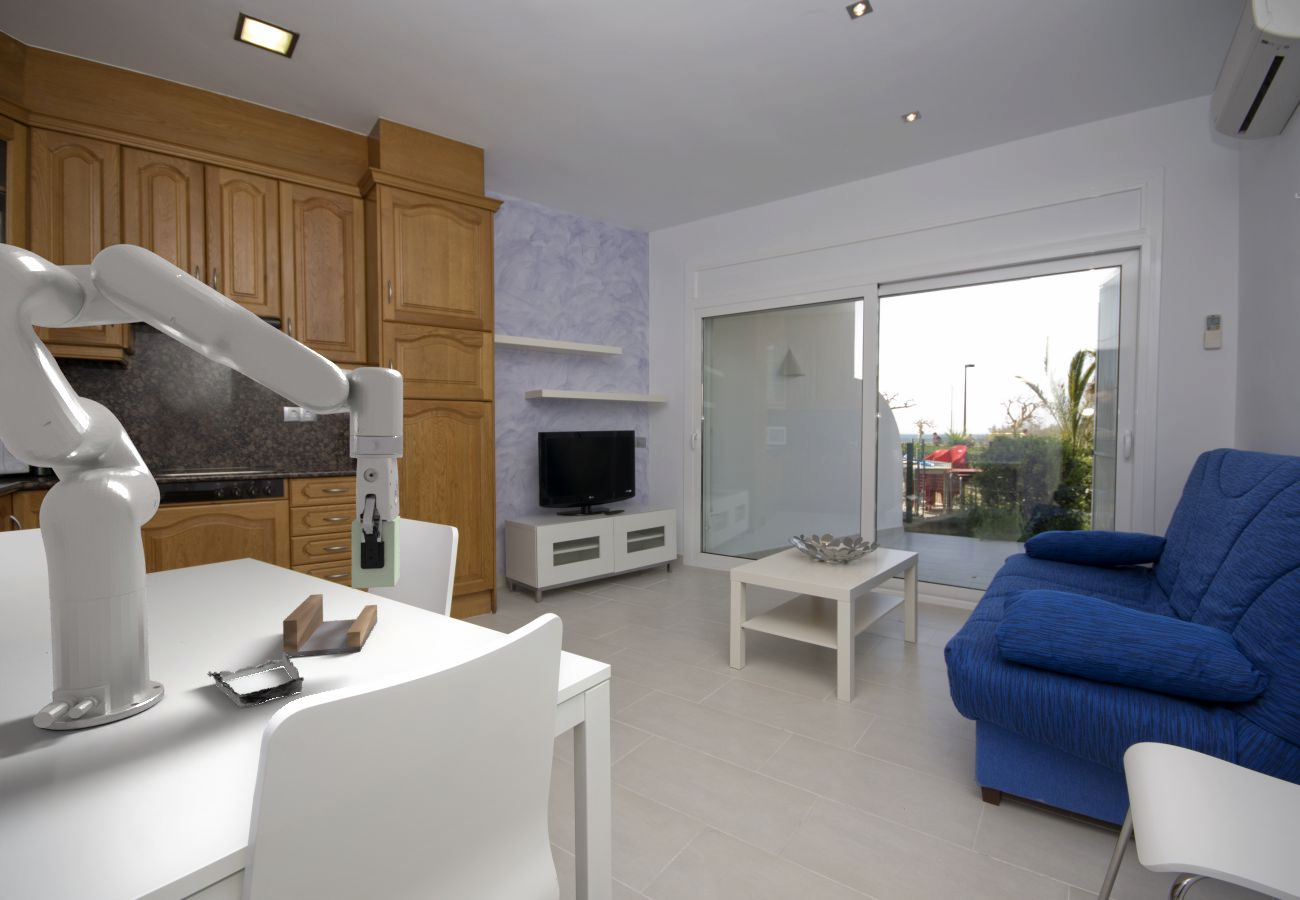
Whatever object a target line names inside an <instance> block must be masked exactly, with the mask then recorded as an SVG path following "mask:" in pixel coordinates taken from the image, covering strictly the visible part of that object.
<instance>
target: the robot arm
mask: <svg viewBox="0 0 1300 900" xmlns="http://www.w3.org/2000/svg"><path fill="white" fill-rule="evenodd" d="M140 322H144V323H146V324H147V325H149V326H151V327H153V328H154V329H156V330H158V331H160V332H161V333H163V334H165V335H167V336H168V337H171V338H172V339H174V340H176V341H178V342H179V343H180V344H182V345H185V346H187V347H188V348H190V349H192V350H194V352H197V353H199V354H200V355H202V356H204V357H206V358H207V359H210V360H211V361H213V362H215V363H217V364H220V365H223V366H225V367H229V368H231V369H232V370H235V371H237V372H239V373H241V374H242V375H243V376H246V377H248V378H249V379H251V380H253V381H255V382H256V383H258V384H260V385H262V386H263V387H265V388H267V389H269V390H271V391H272V392H274V393H276V394H278V395H279V396H281V397H283V398H285V399H287V400H288V401H290V402H291V403H293V404H295V405H297V406H298V407H300V408H302V409H303V410H306V411H307V412H309V413H311V414H316V415H331V414H339V413H340V414H341V413H349V458H351V459H354V458H355V459H357V460H356V461H357V462H356V471H355V472H356V480H355V481H356V482H355V483H356V484H355V510H356V512H355V513H356V514H355V515H356V519H357V520H358V521H359V522H360V523H362V535H361V568H362V569H379V568H383V567H384V541H382V535H383V520H387V523H390V522H392V521H393V520H394V519H395V518H396V517H397V516H400V497H399V496H400V492H399V490H400V489H399V470H398V469H399V468H398V460H397V459H398V458H403V456H404V454H403V453H404V430H403V429H404V380H403V379H404V378H403V375H402V374H401V372H400V371H399V370H396V369H395V368H389V367H379V366H378V367H377V366H375V367H374V366H365V367H364V366H363V367H357V368H355V369H347V368H346V369H345V368H341V367H339V365H337V364H335V363H334V362H332V361H331V360H330V359H327V358H326V357H324V356H323V355H321V354H319V353H318V352H316V351H315V350H313V349H311V348H310V347H308V346H307V345H305V344H304V343H301V342H300V341H298V340H296V339H295V338H293V337H292V336H290V335H288V334H287V333H285V332H283V331H282V330H280V329H278V328H276V327H274V326H273V325H271V324H270V323H268V322H266V321H265V320H263V319H261V317H259V316H258V315H256V314H255V313H253V312H252V311H250V310H248V309H246V308H245V307H243V306H242V305H240V304H239V303H237V302H235V301H234V300H232V299H230V298H229V297H227V296H225V295H224V294H223V293H220V292H218V291H217V290H216V289H214V288H212V287H211V286H209V285H207V284H205V283H204V282H203V281H201V280H199V279H198V278H196V277H194V276H193V275H191V274H190V273H188V272H186V271H185V270H183V269H181V268H180V267H178V266H176V265H175V264H173V263H171V262H169V260H167V259H165V258H164V257H162V256H160V255H158V254H156V253H154V252H152V251H151V250H149V249H146V248H145V247H143V246H142V247H141V246H138V245H134V244H128V243H127V244H126V243H123V244H122V243H120V244H119V243H118V244H114V245H109V246H108V247H105V248H103V249H102V250H100V252H99V253H97V254H96V256H95V257H94V258H93V260H92V262H91V264H73V265H72V264H70V265H67V264H66V265H56V264H55V263H53V262H51V261H49V260H47V259H45V258H43V257H42V256H40V255H38V254H36V253H35V252H33V251H29V250H27V249H25V248H22V247H18V246H15V245H13V244H12V245H10V244H6V243H1V242H0V440H1V442H2V443H3V445H4V446H5V448H6V449H7V451H8V452H9V453H10V454H11V455H12V456H13V457H14V458H15V459H17V460H18V461H21V462H22V463H25V464H26V465H30V466H32V467H33V466H34V467H39V468H52V470H53V472H54V473H55V475H56V476H57V478H58V479H59V481H58V482H57V483H55V484H54V485H53V486H52V487H51V488H50V489H49V490H48V491H47V493H46V494H45V496H44V497H43V499H42V502H41V505H40V508H39V509H40V510H39V527H40V529H39V530H40V534H41V538H42V542H43V547H44V551H45V556H46V564H47V575H48V595H49V596H48V597H49V607H50V608H49V609H50V613H49V614H50V635H51V639H50V640H51V659H52V660H51V661H52V683H53V684H52V686H53V691H52V693H51V694H52V701H51V702H50V703H47V704H45V706H43V707H42V708H41V709H40V710H39V711H38V712H37V714H35V715H34V718H33V720H32V721H33V724H34V726H36V727H37V728H40V729H41V728H43V729H47V730H54V731H55V730H59V731H60V730H61V731H62V730H63V731H64V730H76V729H85V728H90V727H95V726H100V725H104V724H108V723H111V722H116V721H119V720H122V719H124V718H125V719H126V718H128V717H131V716H134V715H136V714H138V713H141V712H143V711H145V710H148V709H149V708H151V707H153V706H155V705H157V704H158V702H159V701H161V700H162V699H163V698H164V696H165V686H164V684H162V683H161V682H159V681H157V680H156V681H155V680H150V653H149V652H150V650H149V649H150V648H149V623H148V621H149V618H148V615H149V614H148V586H147V571H146V558H145V557H146V556H145V551H144V545H143V539H142V531H141V527H142V526H144V525H145V524H146V523H148V522H149V521H150V520H152V518H153V516H155V514H157V511H158V509H159V506H160V502H161V501H160V500H161V495H160V493H161V492H160V489H159V486H158V484H157V482H156V480H155V478H154V476H153V475H152V473H151V471H150V469H149V468H148V466H147V464H146V462H145V461H144V459H143V458H142V456H141V454H140V453H139V451H138V449H137V447H136V446H135V444H134V443H133V441H132V440H131V438H130V436H129V435H128V432H127V430H126V429H125V428H124V426H123V425H122V423H121V422H120V421H119V419H118V418H117V417H116V416H115V414H114V413H113V412H112V411H111V410H110V409H108V407H107V406H104V404H102V403H99V402H98V401H95V400H92V399H91V398H86V397H83V396H79V395H78V393H77V392H76V391H75V390H74V388H73V387H72V385H71V384H70V383H69V381H68V380H67V378H66V376H65V375H64V373H63V372H62V370H61V369H60V366H59V365H58V362H57V361H56V359H55V357H54V356H53V354H52V353H51V351H50V350H49V349H48V348H47V346H46V345H45V344H44V342H43V341H42V340H41V339H40V337H39V336H38V335H37V334H36V332H35V329H34V327H33V326H37V327H42V328H43V327H44V328H52V329H53V328H56V329H61V328H64V329H65V328H77V327H78V328H79V327H90V326H91V327H92V326H104V325H118V324H120V325H121V324H129V323H130V324H131V323H140ZM374 519H380V521H374ZM362 520H363V522H361V521H362ZM376 526H378V528H377V527H376ZM377 531H378V532H377Z"/></svg>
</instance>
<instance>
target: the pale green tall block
mask: <svg viewBox="0 0 1300 900" xmlns="http://www.w3.org/2000/svg"><path fill="white" fill-rule="evenodd" d="M374 521H380V519H374ZM361 522H363V520H362V521H361ZM376 527H377V528H378V526H376ZM377 532H378V531H377ZM361 535H362V523H360V522H359V521H358V520H357V518H355V519H354V520H353V521H351V534H350V540H351V589H370V588H390V587H391V588H392V587H396V585H397V583H398V581H399V579H400V578H401V515H398V516H397V517H396V518H395V519H394V520H393V521H392V522H390V523H387V520H383V535H382V541H384V567H383V568H379V569H362V568H361Z"/></svg>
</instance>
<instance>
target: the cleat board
mask: <svg viewBox="0 0 1300 900" xmlns="http://www.w3.org/2000/svg"><path fill="white" fill-rule="evenodd" d="M323 596H324V595H323V593H320V594H319V593H318V594H310V595H309V596H308V597H307V598H306V599H305V600H304V601H302V602H301V603H300V605H298V606H297V607H296V608H295V609H294V610H293V611H292V612H291V613H290V614H289V615H287V617H285V618H284V619H283V621H282V633H283V634H282V635H283V636H282V637H283V638H282V639H283V653H284V652H285V653H286V654H288V656H298V657H301V656H300V655H310V656H315V655H314V654H322V655H328V654H327V653H334V654H339V653H338V652H345V653H354V652H355V651H357V652H361V651H362V649H363V648H362V647H364V646H365V644H366V642H367V641H368V639H369V637H370V635H371V634H372V632H371V631H374V629H375V627H376V625H377V624H378V604H370V605H364V607H363V608H362V610H361V612H360V613H359V615H357V618H355V619H354V618H353V619H343V620H341V619H339V620H338V619H337V620H328V621H326V620H325V621H324V601H323V600H324V599H323V598H324V597H323ZM374 626H375V627H374ZM370 633H371V634H370ZM366 640H367V641H366ZM353 651H354V652H353ZM355 653H356V652H355Z"/></svg>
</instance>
